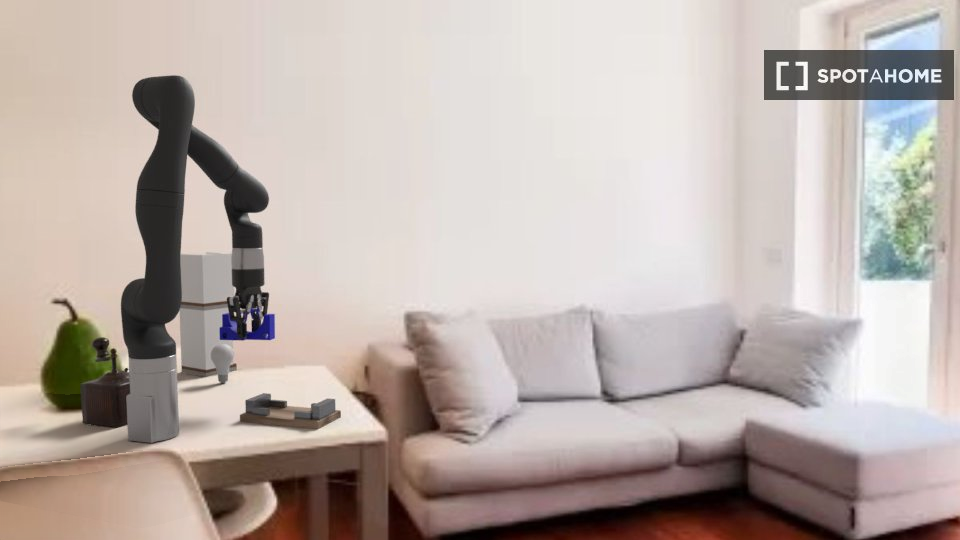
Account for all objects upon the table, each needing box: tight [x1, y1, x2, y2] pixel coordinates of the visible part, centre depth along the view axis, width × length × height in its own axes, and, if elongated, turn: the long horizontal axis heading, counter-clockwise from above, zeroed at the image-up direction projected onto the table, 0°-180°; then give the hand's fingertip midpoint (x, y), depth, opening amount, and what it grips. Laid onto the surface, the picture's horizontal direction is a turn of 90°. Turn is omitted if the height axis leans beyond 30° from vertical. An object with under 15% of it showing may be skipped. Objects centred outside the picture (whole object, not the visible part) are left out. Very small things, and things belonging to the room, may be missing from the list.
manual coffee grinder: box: [80, 336, 130, 429], centre depth 173 cm, size 16×11×18 cm
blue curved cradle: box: [220, 313, 276, 341], centre depth 183 cm, size 12×4×6 cm, turn 83°
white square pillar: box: [179, 251, 238, 378], centre depth 223 cm, size 11×11×35 cm
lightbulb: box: [211, 344, 235, 384], centre depth 208 cm, size 6×6×11 cm
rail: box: [239, 392, 342, 430], centre depth 172 cm, size 10×20×4 cm, turn 72°
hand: (249, 336), depth 183 cm, fingers closed on blue curved cradle, 5 cm apart
